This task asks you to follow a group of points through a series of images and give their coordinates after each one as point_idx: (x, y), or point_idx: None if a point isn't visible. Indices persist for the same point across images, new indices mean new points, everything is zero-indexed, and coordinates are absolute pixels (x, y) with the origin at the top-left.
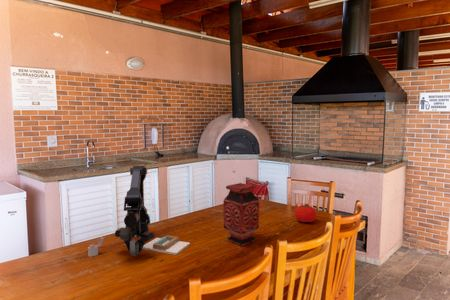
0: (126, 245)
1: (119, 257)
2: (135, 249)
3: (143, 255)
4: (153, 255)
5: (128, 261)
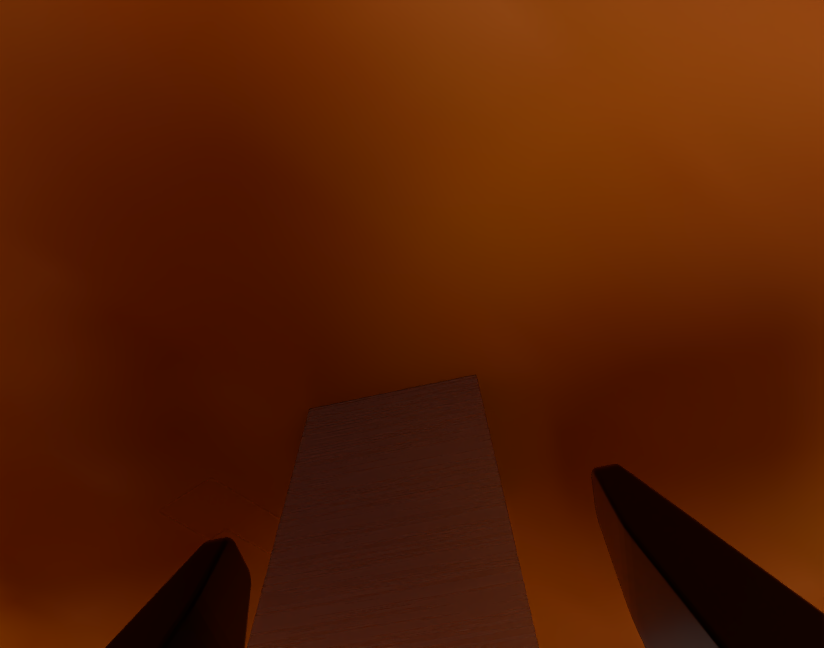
0: (761, 582)
1: (646, 85)
2: (275, 569)
3: (194, 528)
4: (35, 623)
5: (130, 48)
